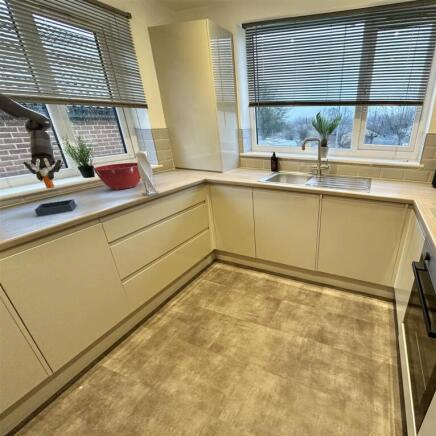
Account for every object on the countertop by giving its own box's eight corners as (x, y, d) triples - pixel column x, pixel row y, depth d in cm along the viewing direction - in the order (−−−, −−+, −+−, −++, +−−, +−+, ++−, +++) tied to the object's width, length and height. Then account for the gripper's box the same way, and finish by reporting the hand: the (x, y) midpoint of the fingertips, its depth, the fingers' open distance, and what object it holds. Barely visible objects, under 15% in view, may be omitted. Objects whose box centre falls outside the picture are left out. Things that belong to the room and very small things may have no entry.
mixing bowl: (90, 191, 162) (81, 168, 157) (127, 181, 188) (121, 161, 182) (121, 194, 154) (113, 170, 149) (156, 183, 180) (151, 162, 174)
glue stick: (44, 188, 112) (37, 170, 109) (49, 187, 115) (42, 169, 112) (51, 188, 113) (44, 170, 109) (56, 186, 115) (49, 169, 112)
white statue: (141, 194, 152) (128, 149, 142) (153, 191, 159) (142, 147, 148) (147, 196, 148) (135, 149, 137) (160, 193, 154) (149, 148, 144)
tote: (38, 218, 117) (34, 209, 116) (44, 211, 126) (40, 203, 124) (72, 212, 124) (69, 204, 122) (76, 206, 132) (73, 199, 131)
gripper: (17, 145, 109) (20, 176, 104) (57, 143, 116) (62, 172, 111) (26, 156, 115) (29, 186, 110) (64, 153, 122) (68, 181, 117)
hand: (45, 179), depth 110 cm, fingers closed on glue stick, 3 cm apart
